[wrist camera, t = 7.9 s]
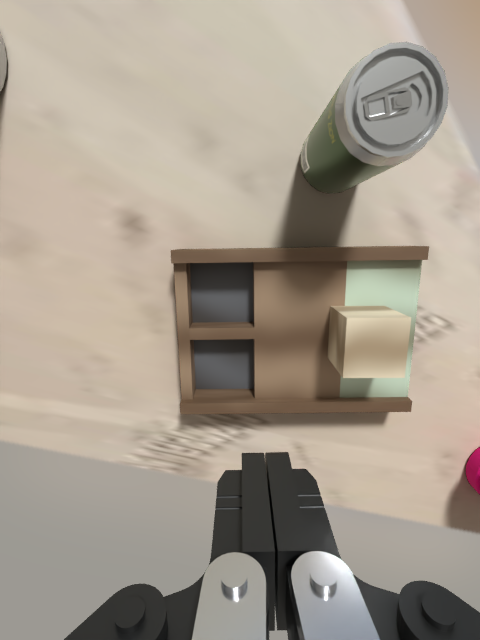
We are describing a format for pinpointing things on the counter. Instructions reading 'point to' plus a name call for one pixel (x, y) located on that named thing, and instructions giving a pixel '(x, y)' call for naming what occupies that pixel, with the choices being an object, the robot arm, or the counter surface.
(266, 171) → the counter surface
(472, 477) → the pepper mill
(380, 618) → the robot arm
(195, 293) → the box
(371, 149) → the beer can
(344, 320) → the maple block
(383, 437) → the counter surface
